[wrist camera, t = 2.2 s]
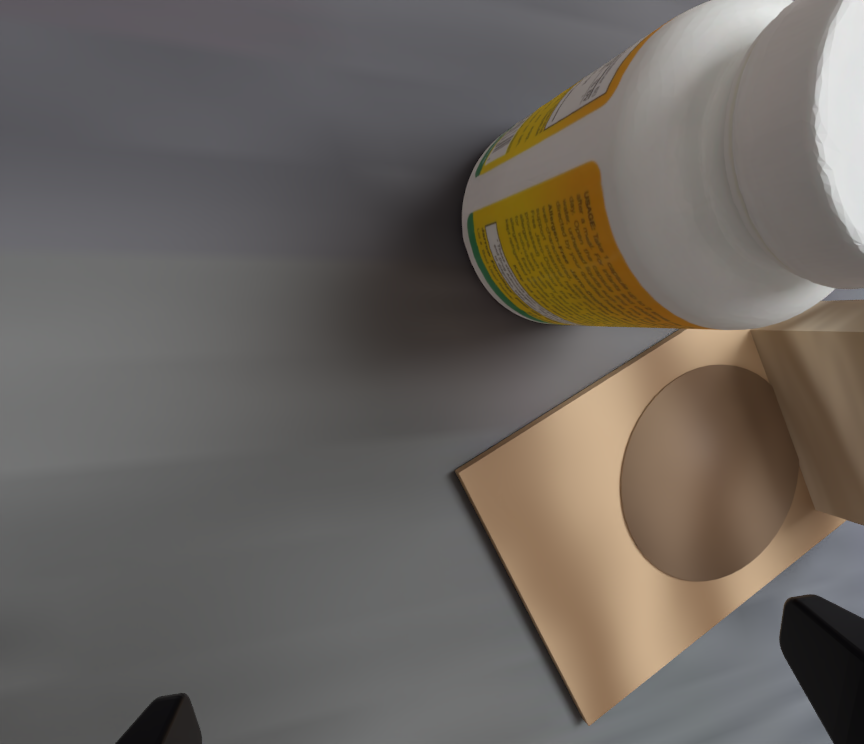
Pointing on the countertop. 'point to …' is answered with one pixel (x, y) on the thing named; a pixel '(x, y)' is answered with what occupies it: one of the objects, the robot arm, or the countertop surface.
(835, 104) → the supplement bottle
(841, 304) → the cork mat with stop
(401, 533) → the countertop surface
